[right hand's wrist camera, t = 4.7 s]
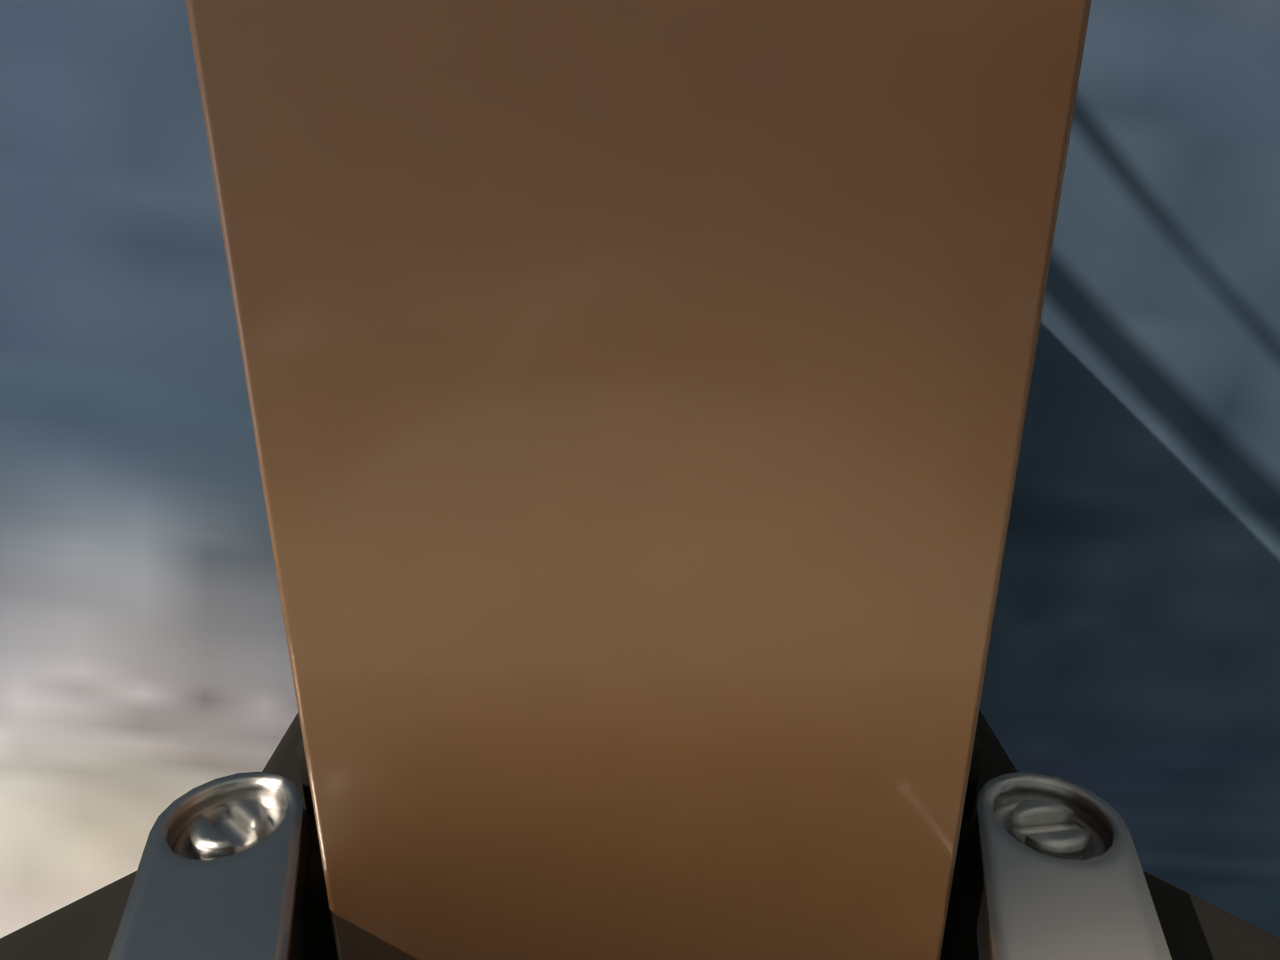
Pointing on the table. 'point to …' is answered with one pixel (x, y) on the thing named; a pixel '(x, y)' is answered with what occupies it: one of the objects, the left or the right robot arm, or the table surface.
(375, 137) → the post
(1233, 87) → the table surface
